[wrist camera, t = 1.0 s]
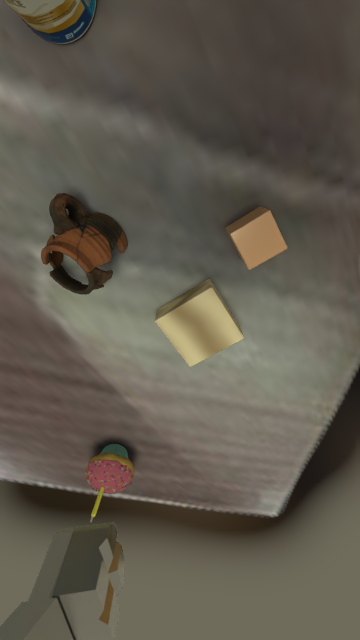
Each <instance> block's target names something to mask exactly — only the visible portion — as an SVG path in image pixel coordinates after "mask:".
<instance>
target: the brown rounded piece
mask: <svg viewBox="0 0 360 640" xmlns="http://www.w3.org/2000/svg"><path fill="white" fill-rule="evenodd" d="M66 208H67V209H68V211H69V216H68V215H67V213H66ZM49 210H50V215H51V217H52V220H53V223H54V233H55V234H57V235H58V236H56V238H55V236H54V235H52V236H51V237H50V238H49V240H48V242H47V246H46V247H44V248H43V250H42V252H41V259H42V262H43V264H46V265H47V264H48V263H49V262H50V264H51V266H52V267H53V268H54V270H53V271H51V272H50V276H51V277H52V278H53V279H54V280H55V281H56V282H57V283H58V284H60V285H61V286H62V287H64V288H66V289H68V290H70V291H72V292H74V293H78V294H89V293H90V292H91V291H92V290H94V289H99V288H102V287H104V285H103V284H104V283H105V282H106V281H107V280H109V279H110V278H111V277H112V274H113V271H112V270H109V271H107V272H106V271H103V270H100V269H99V268H97V266H101V265H103V264H106V263H108V262H110V260H111V258H112V252H111V250H112V249H113V248H114V246H115V244H117V245H118V248H119V251H120V253H124V252H125V249H126V247H127V245H128V243H127V239H126V236H125V234H124V232H123V231H122V229H121V227H120V226H119V225H118V224H117V223H116V222H115V221H114V220H113V219H112V218H110V217H109V216H107V215H105V214H102V213H99V212H97V213H92V214H89V213H88V211H86V210H85V209H84V208H83V206H82V205H81V204H80V202H79V201H78V200H77V199H76V198H74V197H72V196H70V195H68V194H65V193H63V194H61V193H59V194H57V195H56V196H55V198H54V199H53V200H52V201H51V203H50V207H49ZM83 225H85V228H84V231H82V230H81V229H80V228H78V226H83ZM51 252H52V253H51ZM61 253H63V254H66V255H68V256H69V257H71V258H72V259H74V260H75V261H77V263H78V264H79V265H80V266H81V267H82V269H83V270H84V271H85V272H86V274H87V277H88V280H89V284H88V285H84V284H82V283H81V282H79V281H77V280H75V279H73V278H72V277H70V276H69V275H68V273H67V272H66V271H65V269H64V268H63V267H62V265H61V262H62V259H63V255H62V254H61Z"/></svg>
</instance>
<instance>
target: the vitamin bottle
mask: <svg viewBox="0 0 360 640" xmlns="http://www.w3.org/2000/svg"><path fill="white" fill-rule="evenodd" d="M4 1H5V2H6V3H7V4H8V5H9V6H10V7H11V8H12V9H13V10H15V11H16V12H17V13H18V15H19V16H20V17H21V18H22V19H23V21H24V22H25V23H26V24H27V25H28V26H29V27H30V28H31V29H32V30H33V31H34V32H35V33H36V34H37V35H38V36H40V37H41V38H43V39H45V40H47V41H49V42H52V43H56V44H67V43H71V42H73V41H75V40H77V39H79V38H80V37H81V36H82V35H83V34H84V33H85V32H86V31H87V29H88V28H89V26H90V24H91V22H92V19H93V16H94V12H95V7H96V0H4Z"/></svg>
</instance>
